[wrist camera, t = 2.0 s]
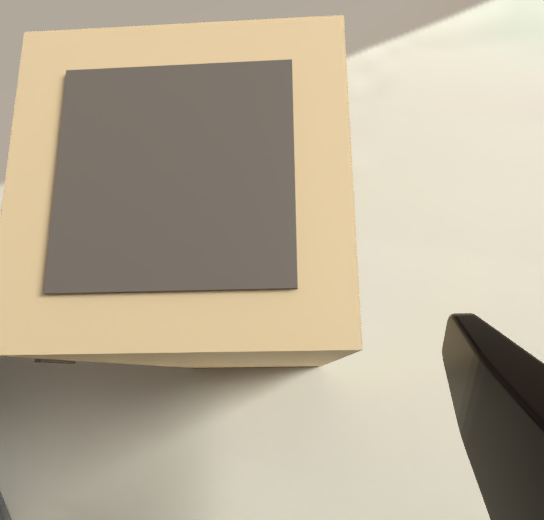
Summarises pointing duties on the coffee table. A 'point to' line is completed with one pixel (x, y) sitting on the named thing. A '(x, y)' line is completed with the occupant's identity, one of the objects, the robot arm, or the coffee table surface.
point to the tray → (3, 510)
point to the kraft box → (181, 197)
